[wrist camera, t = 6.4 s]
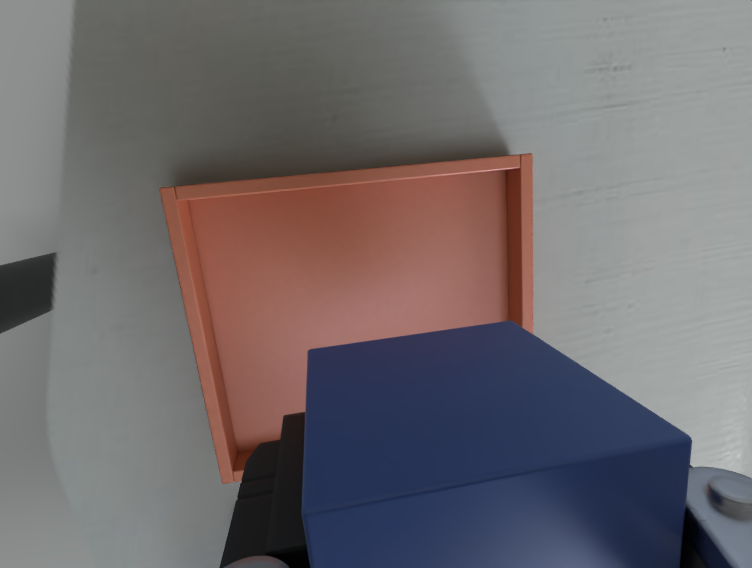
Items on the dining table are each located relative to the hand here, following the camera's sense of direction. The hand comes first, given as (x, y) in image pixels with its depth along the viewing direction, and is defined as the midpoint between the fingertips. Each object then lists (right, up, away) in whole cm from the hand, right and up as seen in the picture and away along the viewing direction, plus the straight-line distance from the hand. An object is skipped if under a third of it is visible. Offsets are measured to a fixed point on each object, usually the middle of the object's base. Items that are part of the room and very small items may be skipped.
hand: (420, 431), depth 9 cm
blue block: (0, 0, 0) cm, 0 cm away
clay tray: (-2, +2, +12) cm, 12 cm away
